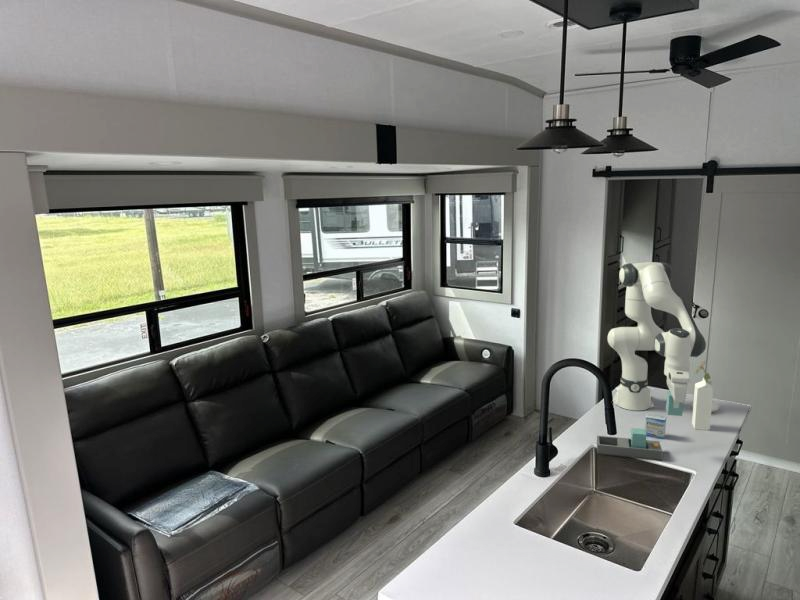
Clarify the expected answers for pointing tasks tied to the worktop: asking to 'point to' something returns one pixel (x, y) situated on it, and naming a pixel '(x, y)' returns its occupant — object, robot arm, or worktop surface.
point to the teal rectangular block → (670, 408)
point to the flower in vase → (707, 376)
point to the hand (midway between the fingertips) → (674, 404)
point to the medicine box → (655, 426)
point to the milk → (702, 405)
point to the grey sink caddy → (630, 446)
